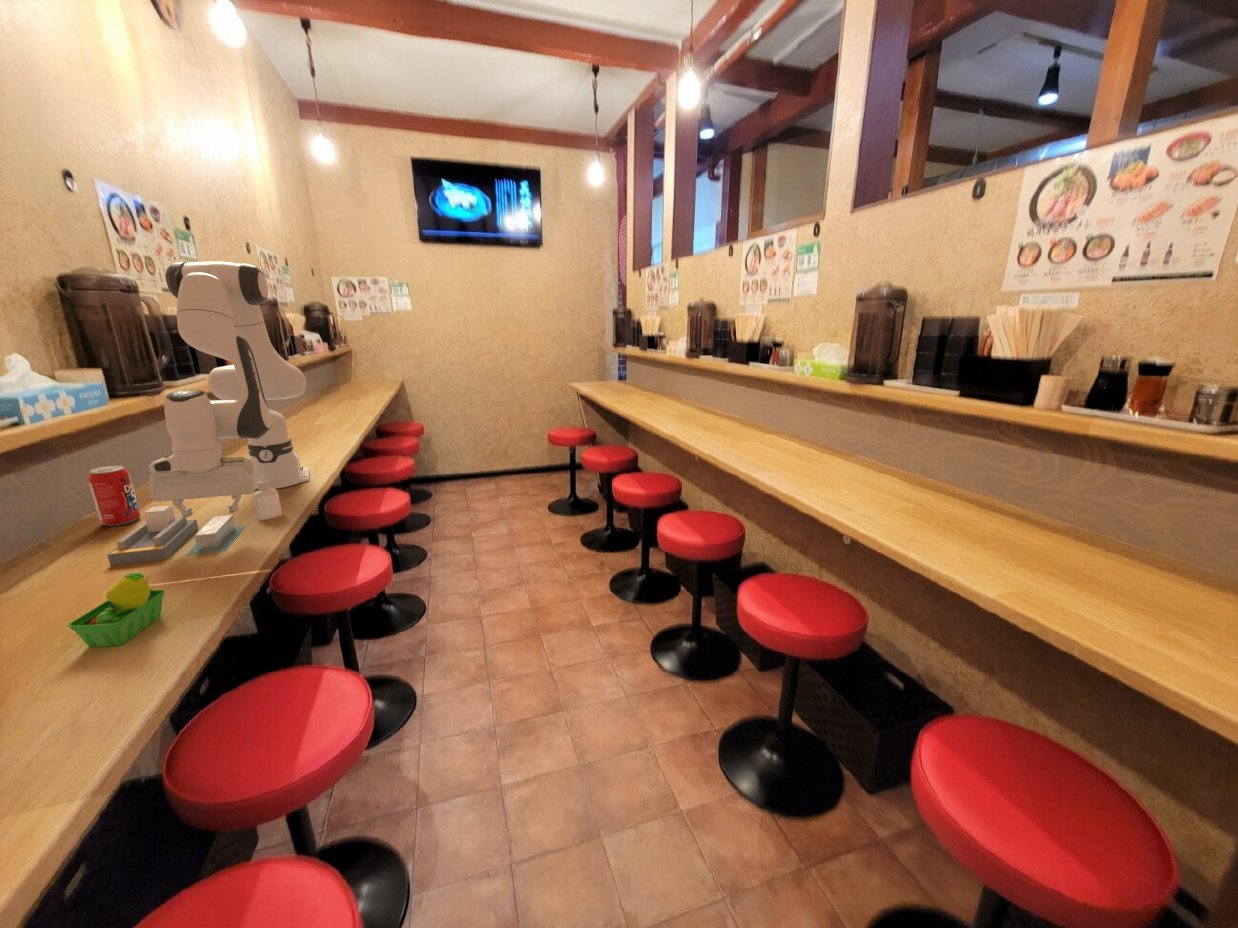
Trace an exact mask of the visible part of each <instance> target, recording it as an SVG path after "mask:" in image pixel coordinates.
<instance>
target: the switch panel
mask: <svg viewBox="0 0 1238 928" xmlns="http://www.w3.org/2000/svg"><path fill="white" fill-rule="evenodd" d="M197 531H199V524H198V520H197V519H196V518H195V519H187V517H182V515H179V516H178V517H177V518H175V520H174V521H173V522H172V523H171V524H170V525H168V526H167V527H166V528H165V529H163V530H162V531H160V532H150V533H149V531H148V527H147V524H146V520H145V521H143V522H142V523H141V524H139V525H138V526H137V527H135V528H134V529H132V530H131V531H130V532H129V533H126V535H125V536H123V537H122V538H121V539H118V541H117V542H116V543H117V547H116V548H115V549H113V550H112V551H111V552H109V553H107V559H108V561H109V565H110V567H114V566H124V565H133V564H140V563H149V562H157V561H166V560H168V559H169V558H170V557H171V556H172V555H174V553H175V552H177V550H179V548H181V546H182V545H183V544H185V542H186V541H188V540H189V539H190V538H191V537H192V536H193V535H195V534H196V533H197Z"/></svg>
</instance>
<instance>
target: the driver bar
mask: <svg viewBox="0 0 1238 928" xmlns="http://www.w3.org/2000/svg"><path fill="white" fill-rule="evenodd" d="M235 526H236V524H235V520H234V515H233V514H230V515H229V514H228V515H218V516H213V518H211V519H210V520H209V521H208V522H207V523H206V524H205V525H204V526H203V527H202V528H201V529H199V530H198V532H196V533H195V534H194V538H195V539H194V540H195V542H196V543H197V548H198V551H202V550H211V549H219V548H220V546H221V545H222V544H223V543H224V542H225V541H226V540H227V538H228V537H229V536H230V535H231V534H232V533H233V532H234V531H235V529H236V528H235ZM196 543H195V544H196Z"/></svg>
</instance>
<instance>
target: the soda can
mask: <svg viewBox="0 0 1238 928" xmlns="http://www.w3.org/2000/svg"><path fill="white" fill-rule="evenodd" d="M88 472H89V475H88V476H87V482H88V486H89V488H90V493H91V496H92V499H93V501H94V505H95V509H96V513H97V516H98V518H99V522H100V524H101V525H104V526H109V527H119V526H124V525H128V524H131V523H134V522H135V521H137V520H138V519H140V517H142V516H141V511H140V507H139V504H138V500H137V499H138V498H137V497H136V493H135V488H134V484H133V481H132V480H133V479H132V476H131V473H130V471H129V470H127V469H126V468H125V466H123V465H108V466H101V467H96V468H93V469H91V470H89V471H88Z"/></svg>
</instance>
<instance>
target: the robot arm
mask: <svg viewBox="0 0 1238 928" xmlns="http://www.w3.org/2000/svg"><path fill="white" fill-rule="evenodd" d="M165 282H166V286H167V289H168V290H169V291H170V292H169V293H171V294H172V296H173V297H174V298H175V299H177V300H176V322H177V323H176V324H177V331H178V334H179V335H180V337H181V339H182V340H183V341H184V342H185V343H186V344H187V345H189V346H190V347H191V348H194V349H195V350H197V351H199V352H202V353H205V354H207V355H209V356H214V357H216V358H220V359H222V360H225V361H228V362H230V363H231V364H229V365H224V366H218V367H217V366H216V367H214V368H213V369H212V370H211V371H210V372H209V374H208V376H207V386H208V389H209V390H210V391H211V393H212V394H213V395H214V396H215V397H216V398H218V399H210V398H209V397H208V394H207V393H206V392H205V391H204V390H200V389H192V388H191V389H181V390H176V391H172V392H170V393H168V394H167V395H165V397H164V403H163V404H164V417H165V425H166V430H167V433H168V434H169V436H170V437H171V440H172V441H171V442H172V445H171V451H172V454H169V455H167V456H164V457H160V458H159V459H157V460H154V461H152V462H151V463H149V464H148V469H149V472H151V474H150V476H149V477H148V489H149V494H150V498H151V499H152V500H154V501H155V502H159V503H160V502H169V501H171V503H172V506H174V507H175V508H176V509H177V510H179V511H180V514H181V516H182V517H186V518H187V517H191V516H193V511H192V507H187V506H186V505H185V504H184V502H185V500H193V499H205V498H217V497H229V496H230V497H231V500H234V501H233V503H231V504H229V505H228V506H227V507H228V512H229V513H231V514H232V513H238V512H239V502H240V501H241V499H242V497H243V495H251V494H252V493H253V494H254V493H255V492H256V491H257V490H260V489H259V485H258V482H259V481H261V477H264V478H265V480H267V481H269V485H270V488H273V489H276V490H277V489H282V488H287V487H290V486H294V485H298V484H300V483H304V482H305V483H306V482H308V481H310V469H309V467H307V466H302V464H301V459H300V458H301V457H300V456H299V454H297V453H296V452H295V451H294V446H293V441H292V437H290V436H289V429H288V424H287V419H286V417H284V415H283V414H282V413H280V412H278V411H276V410H273V409H270V408H269V406H268V403H267V400H272V401H273V400H287V399H292V398H296V397H300V396H301V397H302V395H303V394H304V392H305V390H306V387H307V380H306V376H305V375H304V373H303V372H302V370H301V369H300V368H298V366H295V365H293V364H292V363H290V362H288V361H287V360H285V359H284V358H283V357H282V356H281V355H280V353H278V352H277V351H276V349H275V348H274V345H273V344H272V342H271V338H270V336H269V333H268V330H267V327H266V323H265V319H264V315H263V312H262V309H261V307H260V304H262V303H264V302H265V301H266V300H267V298H268V293H269V284H268V280H267V279H266V276H265V273H264V272H263V271H262V270H261V269H260V268H259V267H257V266H255V265H252V264H249V263H235V262H225V261H214V260H213V261H196V262H195V261H192V262H189V261H178V262H173V263H171V264H170V265H169V266H168V267H167V269H166V270H165ZM219 439H247V442H248V443H247V451H248V455H249V457H248V458H245V457H244V456H238V457H223V453H222V451H223V450H222V447H221V443H220V441H219ZM255 490H256V491H255Z"/></svg>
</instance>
